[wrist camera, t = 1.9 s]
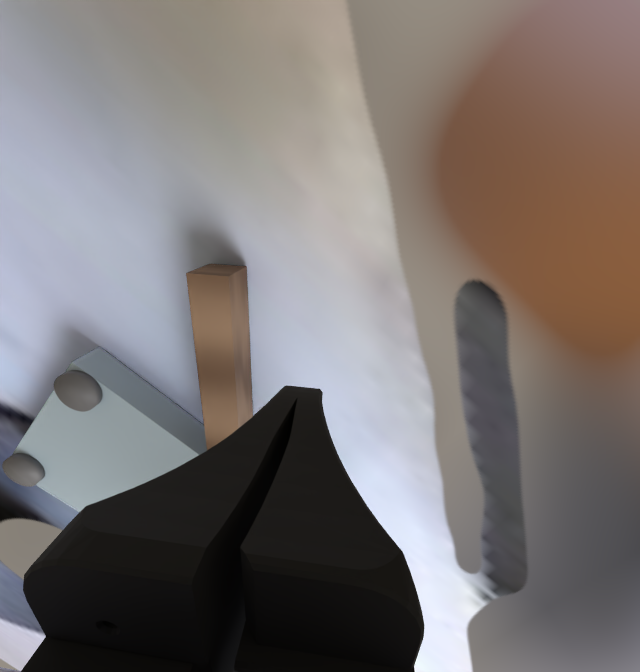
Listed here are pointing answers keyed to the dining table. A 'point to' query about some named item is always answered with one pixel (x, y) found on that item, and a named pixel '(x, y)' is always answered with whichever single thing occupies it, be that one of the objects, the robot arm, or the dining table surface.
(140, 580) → the robot arm
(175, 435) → the grey flat block
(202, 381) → the folding leg
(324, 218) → the dining table surface
